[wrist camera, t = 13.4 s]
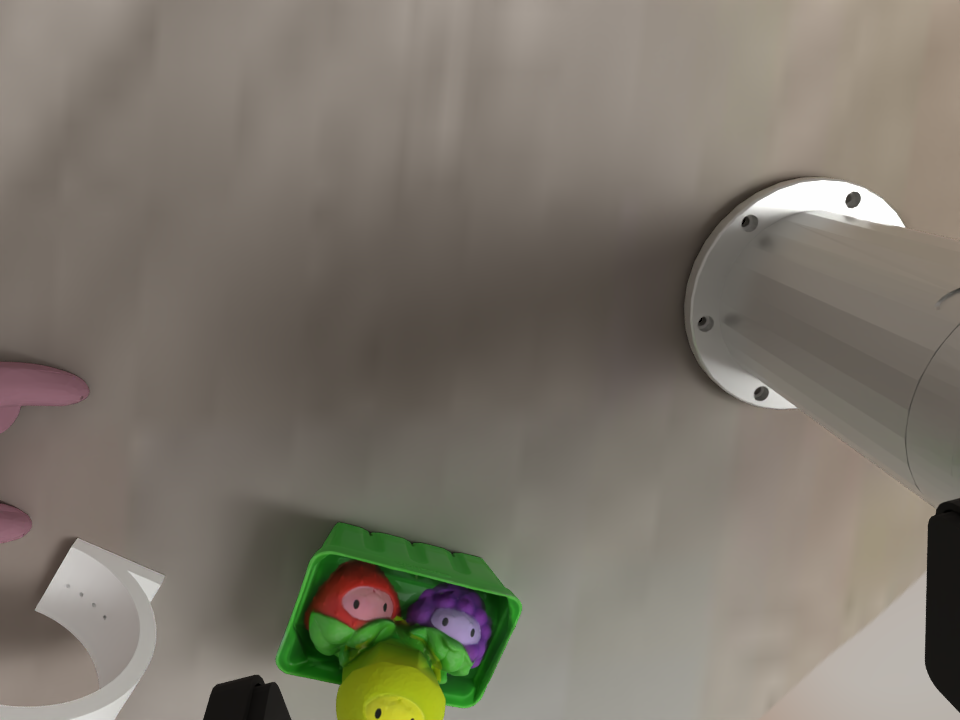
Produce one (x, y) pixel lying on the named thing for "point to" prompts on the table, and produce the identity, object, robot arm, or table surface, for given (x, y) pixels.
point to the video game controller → (32, 385)
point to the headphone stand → (100, 628)
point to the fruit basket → (397, 626)
